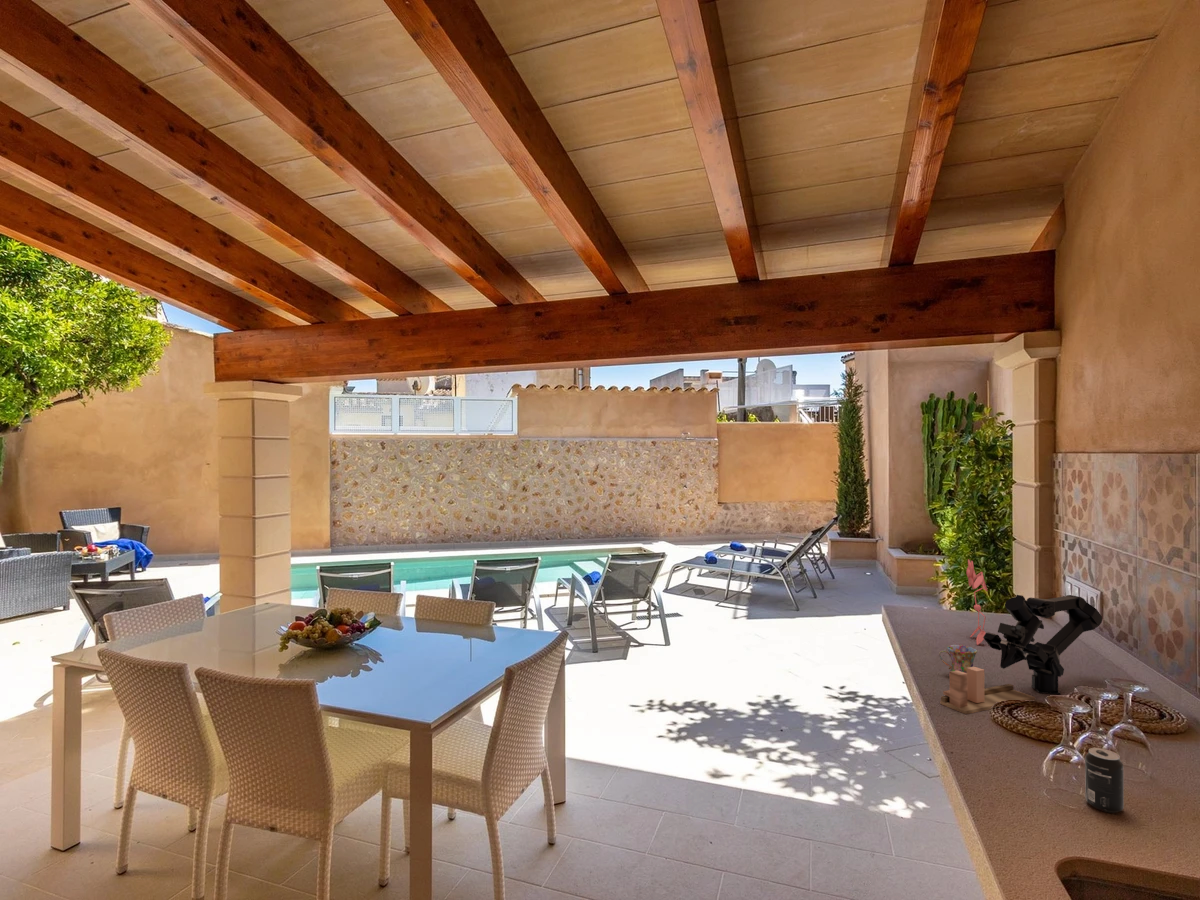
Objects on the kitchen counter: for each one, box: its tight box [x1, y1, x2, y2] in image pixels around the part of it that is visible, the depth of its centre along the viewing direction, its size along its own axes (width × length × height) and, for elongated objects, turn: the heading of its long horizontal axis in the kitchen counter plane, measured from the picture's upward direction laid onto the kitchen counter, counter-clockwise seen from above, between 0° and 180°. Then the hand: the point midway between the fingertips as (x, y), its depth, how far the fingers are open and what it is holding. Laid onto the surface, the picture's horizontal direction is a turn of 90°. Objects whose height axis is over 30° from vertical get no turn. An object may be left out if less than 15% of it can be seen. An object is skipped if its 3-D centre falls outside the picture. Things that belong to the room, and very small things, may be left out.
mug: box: [938, 644, 978, 677], centre depth 232 cm, size 12×9×11 cm
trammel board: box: [939, 670, 1036, 715], centre depth 209 cm, size 32×9×11 cm, turn 112°
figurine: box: [965, 558, 988, 646], centre depth 280 cm, size 15×26×35 cm, turn 158°
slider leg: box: [967, 666, 985, 703], centre depth 209 cm, size 4×6×10 cm, turn 22°
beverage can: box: [1084, 747, 1125, 814], centre depth 146 cm, size 7×7×12 cm
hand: (1002, 667), depth 212 cm, fingers closed
